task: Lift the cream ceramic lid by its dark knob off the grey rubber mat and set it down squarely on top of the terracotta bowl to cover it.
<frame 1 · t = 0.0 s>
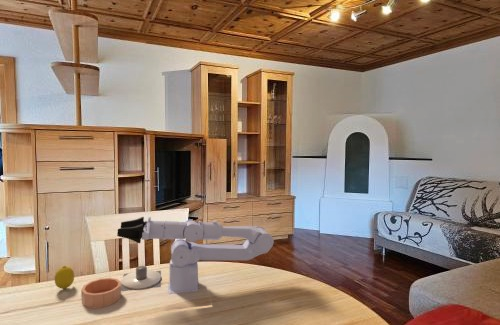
hand: (119, 228, 98), 22 cm above the table, tool horizontal, fingers open, 7 cm apart
bowl: (102, 299, 96), on the table
mat: (141, 281, 109), on the table
lid: (141, 280, 109), point 1 cm above the table, touching mat
lemon: (64, 289, 102), on the table
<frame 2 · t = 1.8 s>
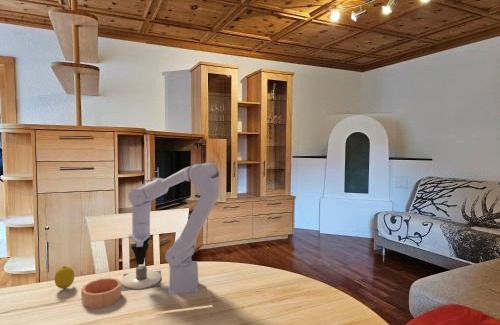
hand: (141, 259, 108), 8 cm above the table, tool pointing down, fingers open, 7 cm apart
nothing on the table moved.
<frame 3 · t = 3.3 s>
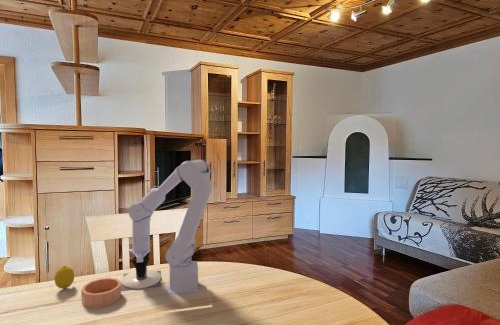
hand: (141, 274, 109), 3 cm above the table, tool pointing down, fingers closed on lid, 4 cm apart
lid: (141, 280, 109), point 1 cm above the table, touching gripper, mat
everything else where it was.
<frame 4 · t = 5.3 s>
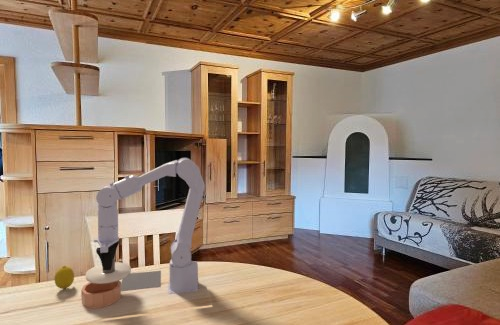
hand: (108, 266, 98), 10 cm above the table, tool pointing down, fingers closed on lid, 4 cm apart
lid: (108, 273, 98), point 8 cm above the table, touching gripper
everything else where it was.
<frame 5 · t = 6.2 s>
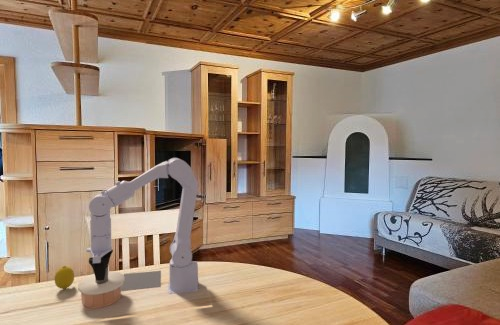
hand: (101, 276, 96), 7 cm above the table, tool pointing down, fingers closed on lid, 4 cm apart
lid: (102, 283, 96), point 5 cm above the table, touching gripper
everything else where it was.
when the fingers open (7 cm above the table, at t = 7.1 s): lid stays where it is, resting on bowl.
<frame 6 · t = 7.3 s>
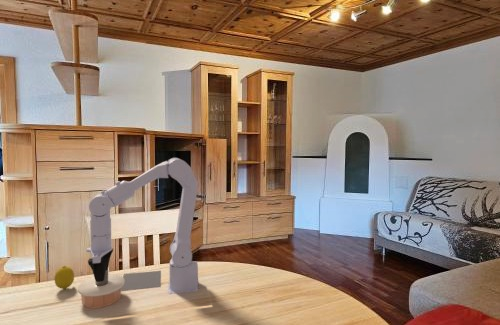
hand: (101, 276, 96), 7 cm above the table, tool pointing down, fingers open, 5 cm apart
lid: (102, 285, 96), point 4 cm above the table, touching bowl
everything else where it was.
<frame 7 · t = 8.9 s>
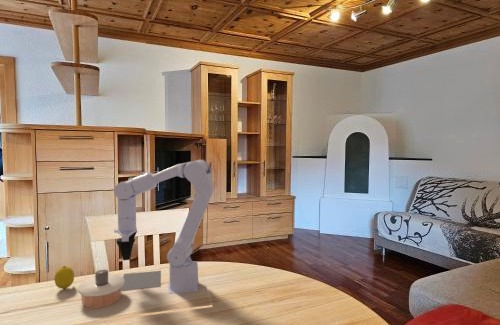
hand: (127, 255, 106), 10 cm above the table, tool pointing down, fingers open, 7 cm apart
nothing on the table moved.
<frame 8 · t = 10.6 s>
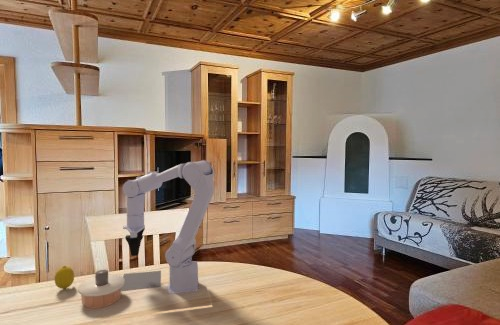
hand: (135, 251, 109), 10 cm above the table, tool pointing down, fingers open, 7 cm apart
nothing on the table moved.
at the end: lid 0.1 cm off-centre on the bowl, point 4.5 cm above the bowl's base; lid tilted 0°; the gripper is holding nothing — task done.
